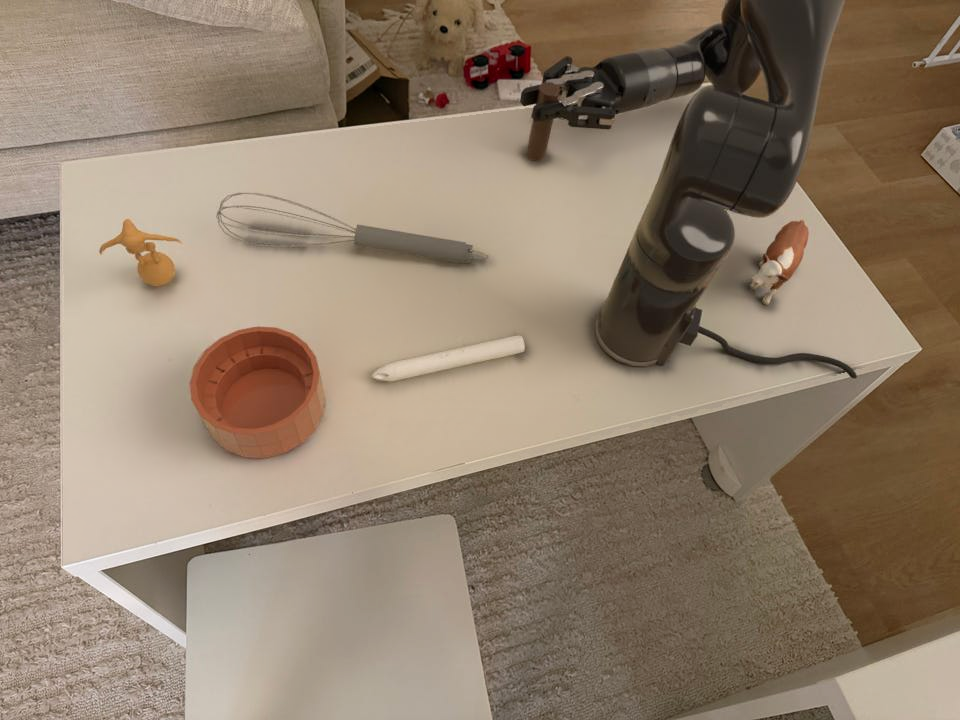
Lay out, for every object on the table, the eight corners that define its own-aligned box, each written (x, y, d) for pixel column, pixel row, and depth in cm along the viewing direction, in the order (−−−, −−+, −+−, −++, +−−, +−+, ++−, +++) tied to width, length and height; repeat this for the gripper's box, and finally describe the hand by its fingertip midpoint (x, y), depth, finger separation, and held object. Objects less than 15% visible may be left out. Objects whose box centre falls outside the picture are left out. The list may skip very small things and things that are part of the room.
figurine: (196, 261, 81) (167, 189, 71) (200, 300, 78) (169, 230, 68) (124, 272, 80) (82, 199, 69) (124, 312, 77) (81, 242, 66)
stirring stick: (547, 151, 98) (562, 85, 88) (542, 163, 96) (556, 97, 87) (529, 145, 98) (542, 79, 89) (524, 157, 96) (536, 91, 87)
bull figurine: (727, 305, 86) (755, 264, 79) (768, 246, 92) (797, 204, 85) (757, 323, 85) (788, 284, 78) (797, 262, 91) (829, 221, 84)
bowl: (344, 379, 75) (339, 348, 69) (292, 477, 68) (282, 451, 63) (243, 345, 76) (231, 311, 70) (183, 437, 69) (164, 408, 64)
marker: (373, 389, 74) (372, 378, 72) (369, 373, 75) (368, 362, 73) (523, 355, 79) (526, 344, 77) (517, 341, 80) (520, 330, 78)
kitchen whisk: (486, 281, 84) (491, 247, 79) (217, 250, 83) (203, 214, 77) (489, 244, 87) (494, 210, 82) (230, 215, 86) (218, 178, 81)
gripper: (616, 27, 94) (507, 49, 88) (671, 88, 87) (558, 115, 82) (603, 75, 100) (501, 98, 95) (653, 134, 94) (547, 162, 89)
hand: (528, 106), depth 89 cm, fingers closed on stirring stick, 2 cm apart
